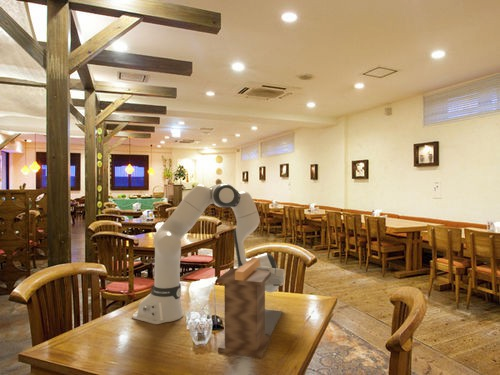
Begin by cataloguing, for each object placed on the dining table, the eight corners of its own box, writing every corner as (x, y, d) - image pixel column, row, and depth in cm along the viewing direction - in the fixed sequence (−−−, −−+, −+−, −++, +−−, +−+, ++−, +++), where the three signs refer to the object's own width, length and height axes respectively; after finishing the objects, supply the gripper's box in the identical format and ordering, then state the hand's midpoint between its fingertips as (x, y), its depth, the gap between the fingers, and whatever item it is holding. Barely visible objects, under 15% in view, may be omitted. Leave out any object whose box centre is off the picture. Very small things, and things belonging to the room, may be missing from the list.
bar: (235, 279, 114) (234, 271, 114) (252, 264, 135) (252, 257, 135) (243, 280, 113) (243, 271, 113) (259, 265, 134) (259, 257, 134)
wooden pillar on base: (217, 351, 116) (217, 278, 116) (231, 334, 130) (231, 268, 130) (261, 358, 112) (261, 282, 111) (271, 339, 125) (270, 271, 125)
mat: (235, 332, 131) (235, 329, 131) (252, 310, 154) (252, 307, 154) (269, 336, 127) (269, 334, 127) (282, 313, 150) (282, 311, 150)
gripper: (243, 268, 153) (235, 258, 142) (287, 271, 147) (282, 262, 136) (241, 281, 150) (233, 273, 139) (286, 285, 144) (280, 277, 133)
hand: (257, 268), depth 137 cm, fingers open, 8 cm apart
